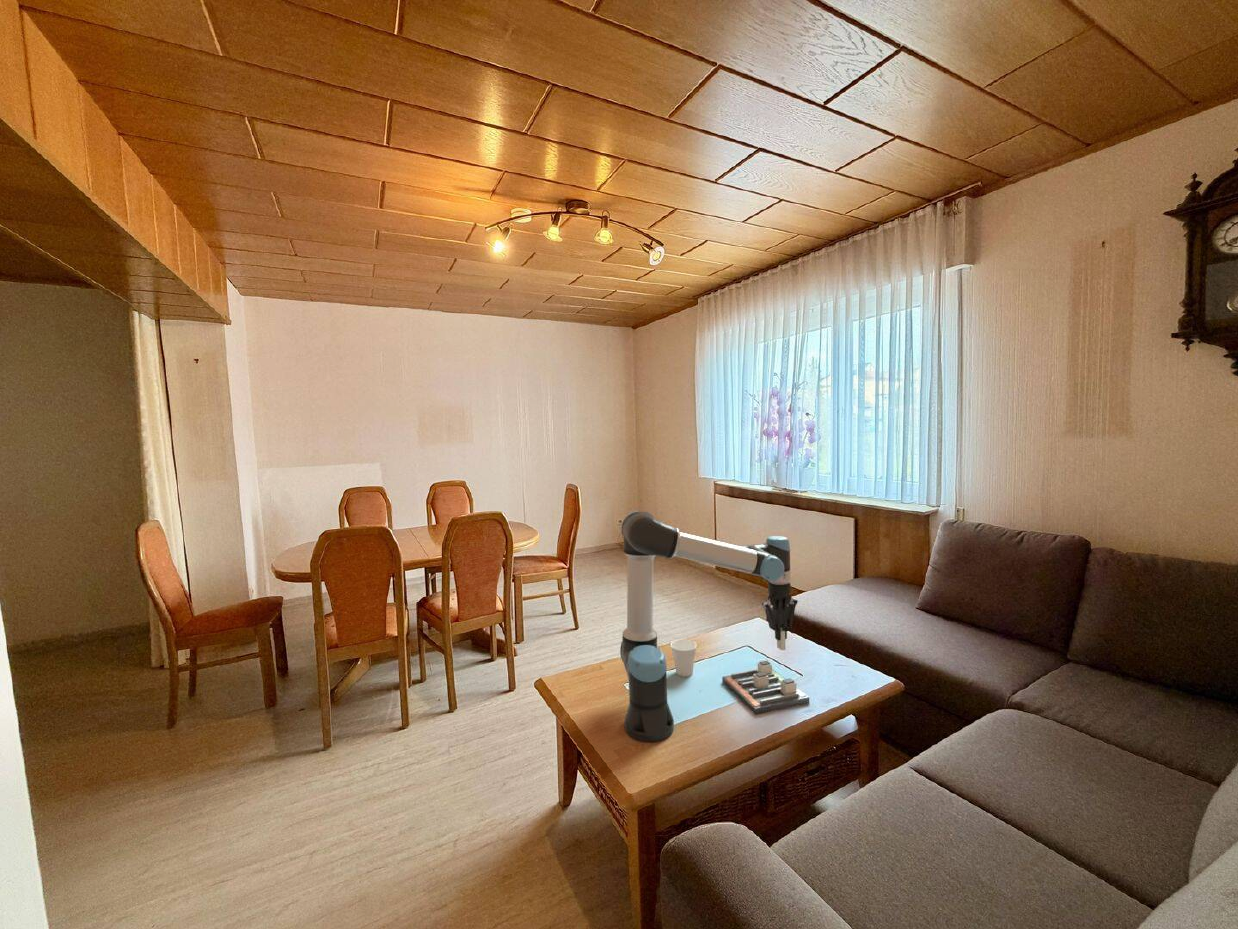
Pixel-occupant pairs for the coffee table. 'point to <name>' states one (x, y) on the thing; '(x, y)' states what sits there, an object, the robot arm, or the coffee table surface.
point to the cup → (683, 656)
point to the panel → (763, 692)
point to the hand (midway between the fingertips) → (781, 648)
